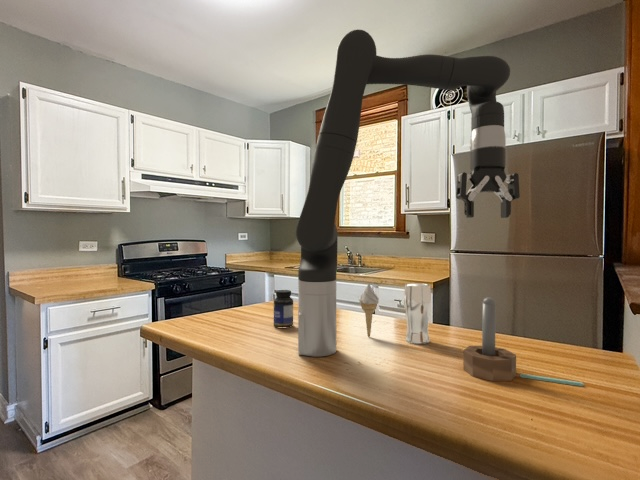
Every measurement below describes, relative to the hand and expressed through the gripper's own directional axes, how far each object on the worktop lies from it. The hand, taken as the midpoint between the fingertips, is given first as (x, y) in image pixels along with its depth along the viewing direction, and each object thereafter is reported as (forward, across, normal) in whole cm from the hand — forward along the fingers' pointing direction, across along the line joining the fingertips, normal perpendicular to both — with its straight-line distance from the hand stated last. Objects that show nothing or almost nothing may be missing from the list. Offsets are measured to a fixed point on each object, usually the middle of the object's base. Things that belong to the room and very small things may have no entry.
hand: (487, 217), depth 82 cm
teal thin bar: (+32, +3, -16) cm, 36 cm away
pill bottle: (+32, -49, +30) cm, 66 cm away
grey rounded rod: (+32, -6, -11) cm, 34 cm away
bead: (+32, -6, -11) cm, 34 cm away
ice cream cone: (+32, -25, +16) cm, 44 cm away
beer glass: (+32, -13, +11) cm, 37 cm away
